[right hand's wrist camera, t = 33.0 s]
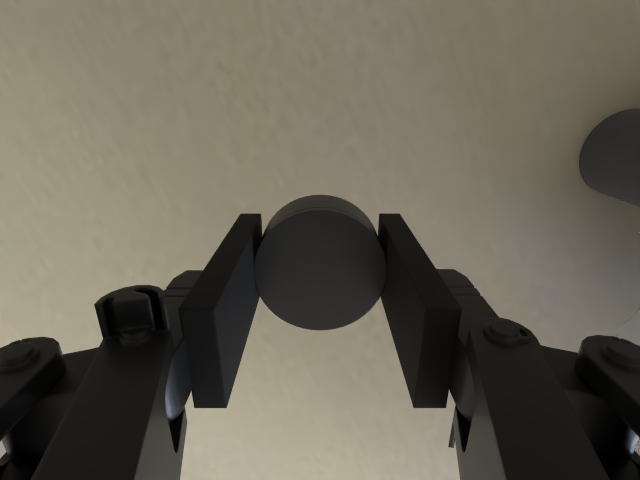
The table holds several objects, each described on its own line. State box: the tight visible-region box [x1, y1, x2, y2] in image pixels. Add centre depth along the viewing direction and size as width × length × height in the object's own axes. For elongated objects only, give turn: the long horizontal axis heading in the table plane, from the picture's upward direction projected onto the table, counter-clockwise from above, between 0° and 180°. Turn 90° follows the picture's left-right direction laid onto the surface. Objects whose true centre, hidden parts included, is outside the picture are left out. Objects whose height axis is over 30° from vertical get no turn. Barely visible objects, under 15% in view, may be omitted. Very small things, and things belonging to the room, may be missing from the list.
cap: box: [254, 195, 386, 330], centre depth 13 cm, size 4×4×2 cm
